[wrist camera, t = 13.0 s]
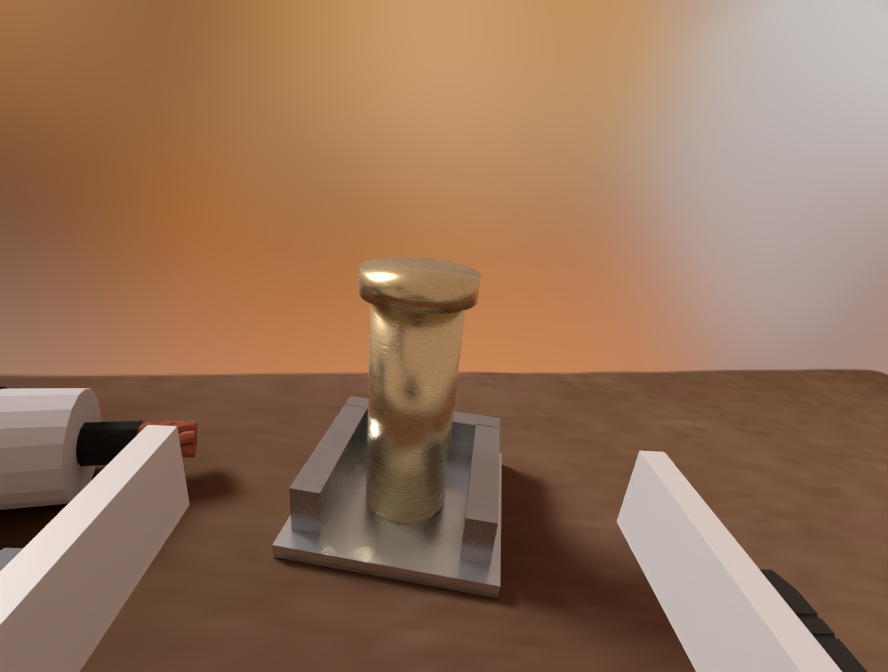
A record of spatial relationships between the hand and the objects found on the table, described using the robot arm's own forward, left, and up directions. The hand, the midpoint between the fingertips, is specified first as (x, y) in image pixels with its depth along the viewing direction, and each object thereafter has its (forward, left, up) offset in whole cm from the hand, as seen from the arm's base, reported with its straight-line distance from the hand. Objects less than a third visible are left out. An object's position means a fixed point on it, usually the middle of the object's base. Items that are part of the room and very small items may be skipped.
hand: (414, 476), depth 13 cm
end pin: (-2, +9, -9) cm, 13 cm away
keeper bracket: (-2, +10, -10) cm, 14 cm away
